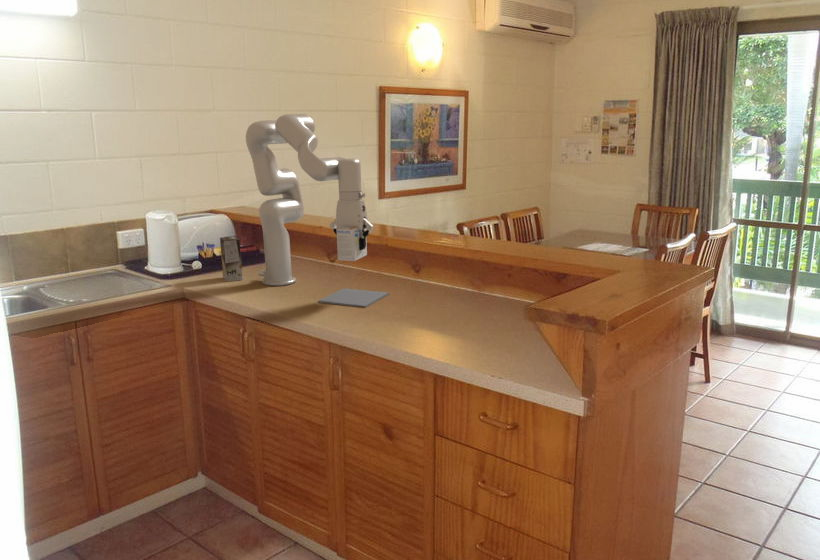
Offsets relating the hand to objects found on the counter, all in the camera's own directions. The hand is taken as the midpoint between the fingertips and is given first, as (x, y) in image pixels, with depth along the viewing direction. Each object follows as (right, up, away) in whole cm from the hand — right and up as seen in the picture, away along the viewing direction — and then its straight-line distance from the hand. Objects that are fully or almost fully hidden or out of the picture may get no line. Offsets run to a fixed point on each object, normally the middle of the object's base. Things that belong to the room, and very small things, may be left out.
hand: (352, 248), depth 232 cm
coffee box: (-50, -10, +36) cm, 62 cm away
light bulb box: (0, -3, +1) cm, 3 cm away
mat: (0, -17, +4) cm, 18 cm away
